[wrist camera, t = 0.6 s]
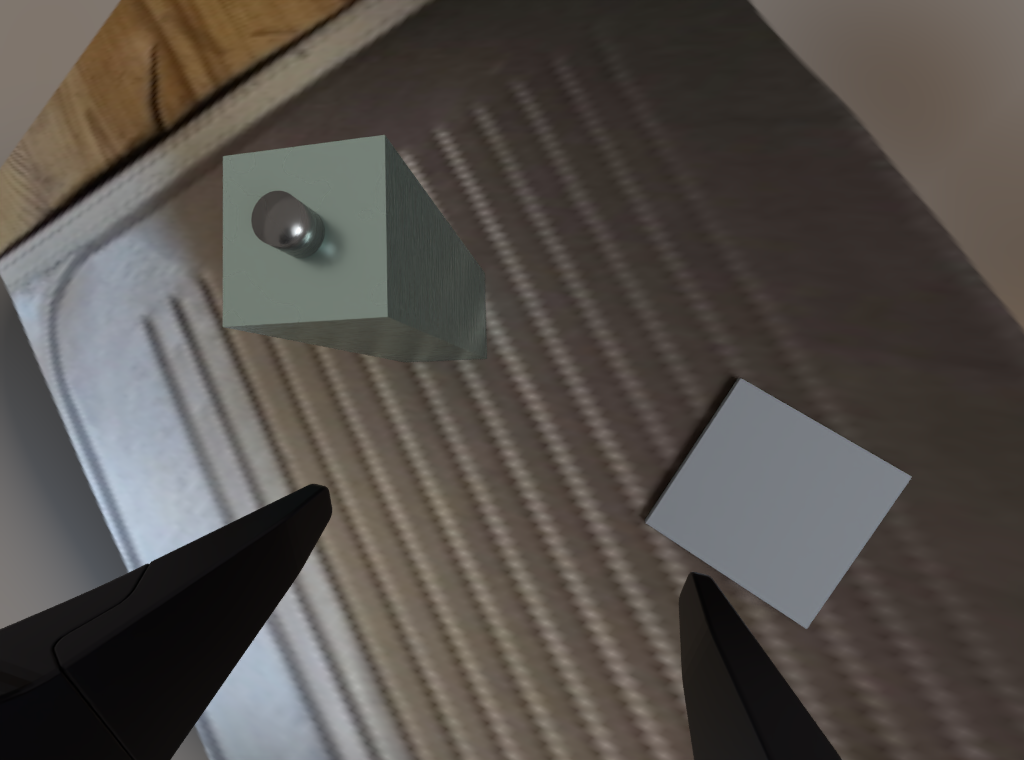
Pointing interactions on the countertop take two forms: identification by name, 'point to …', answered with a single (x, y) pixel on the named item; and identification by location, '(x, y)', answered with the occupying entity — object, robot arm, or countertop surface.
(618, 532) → the countertop surface
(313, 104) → the countertop surface
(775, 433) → the mat
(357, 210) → the cover
